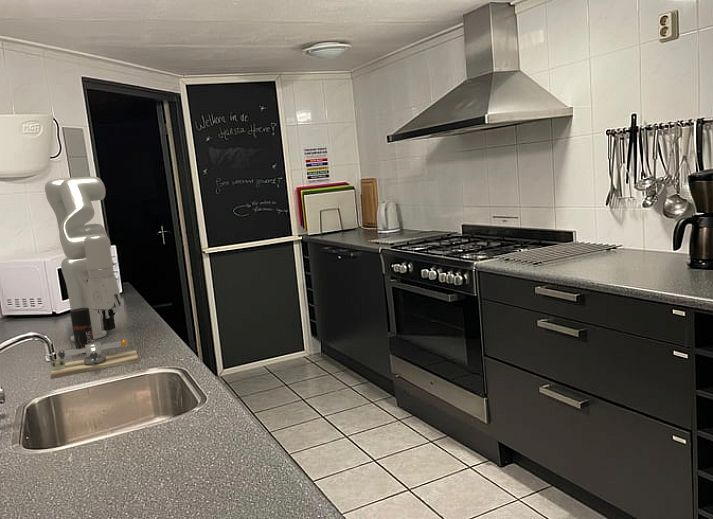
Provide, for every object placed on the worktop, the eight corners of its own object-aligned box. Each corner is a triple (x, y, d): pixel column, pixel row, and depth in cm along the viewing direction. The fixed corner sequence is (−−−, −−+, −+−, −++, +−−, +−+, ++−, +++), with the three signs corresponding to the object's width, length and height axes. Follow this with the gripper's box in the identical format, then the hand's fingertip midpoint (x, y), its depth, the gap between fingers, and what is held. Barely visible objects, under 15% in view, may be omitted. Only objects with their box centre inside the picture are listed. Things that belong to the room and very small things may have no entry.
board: (53, 368, 190) (51, 356, 189) (136, 353, 200) (134, 341, 199) (51, 378, 180) (49, 365, 179) (138, 361, 190) (137, 349, 189)
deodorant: (88, 354, 203) (81, 311, 201) (72, 354, 205) (66, 312, 202) (98, 349, 209) (92, 307, 207) (83, 349, 210) (77, 307, 208)
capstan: (61, 358, 195) (58, 342, 194) (127, 346, 203) (124, 331, 202) (58, 375, 176) (55, 358, 176) (131, 362, 184) (128, 345, 184)
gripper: (75, 276, 192) (84, 332, 194) (108, 275, 185) (117, 333, 187) (94, 272, 198) (103, 326, 201) (127, 271, 192) (135, 327, 194)
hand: (109, 329), depth 194 cm, fingers closed
